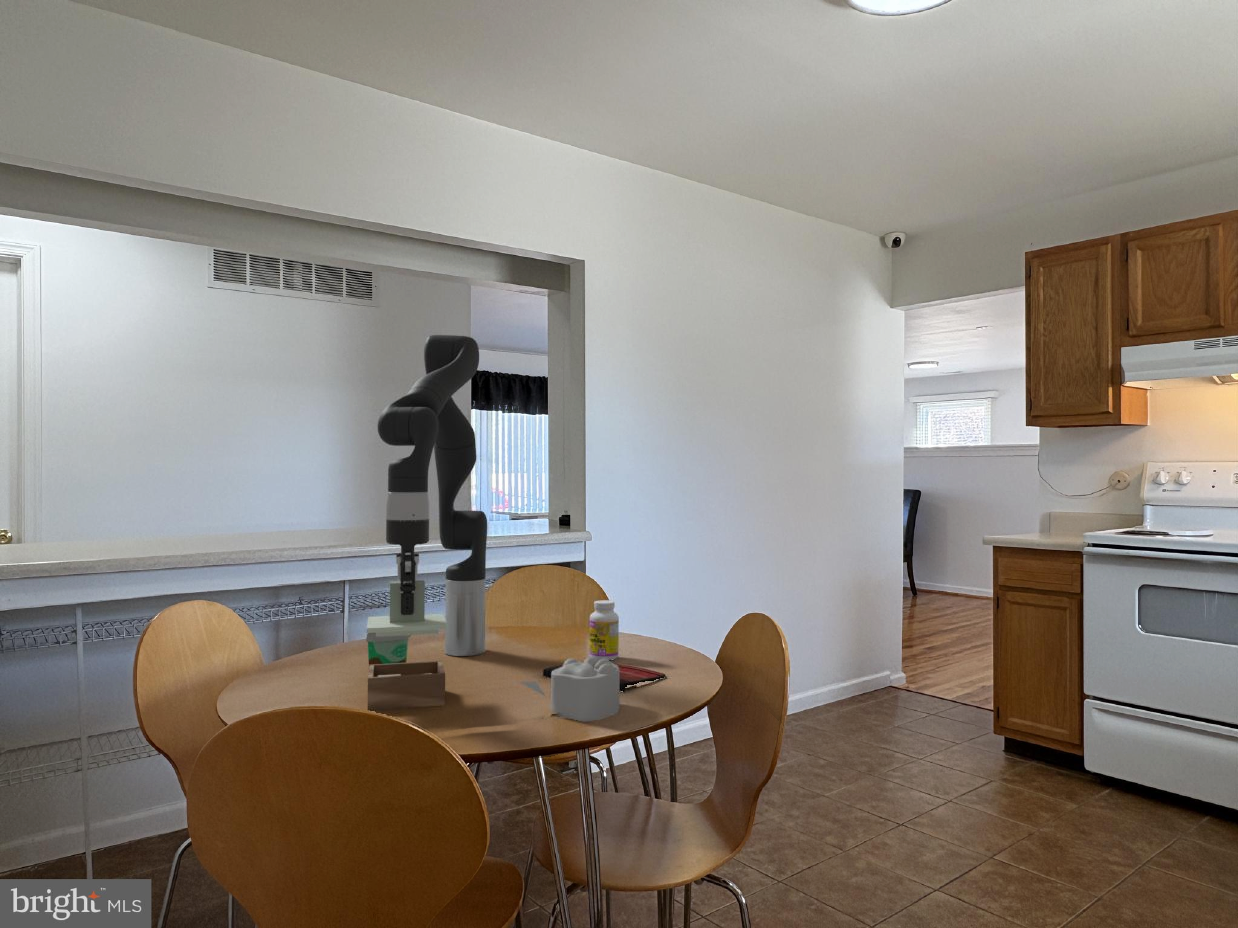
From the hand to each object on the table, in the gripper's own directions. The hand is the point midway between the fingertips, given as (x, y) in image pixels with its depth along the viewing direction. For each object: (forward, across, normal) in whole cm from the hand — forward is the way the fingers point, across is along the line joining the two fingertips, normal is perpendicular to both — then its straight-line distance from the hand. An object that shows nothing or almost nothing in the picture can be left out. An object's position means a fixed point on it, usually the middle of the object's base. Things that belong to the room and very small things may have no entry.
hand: (407, 612), depth 146 cm
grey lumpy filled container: (+17, -12, -31) cm, 37 cm away
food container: (+17, +23, +2) cm, 28 cm away
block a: (+16, 0, +3) cm, 16 cm away
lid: (+3, 0, 0) cm, 3 cm away
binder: (+17, +11, -40) cm, 45 cm away
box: (+16, 0, 0) cm, 16 cm away
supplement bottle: (+17, +28, -44) cm, 55 cm away
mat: (+16, +2, -18) cm, 24 cm away
